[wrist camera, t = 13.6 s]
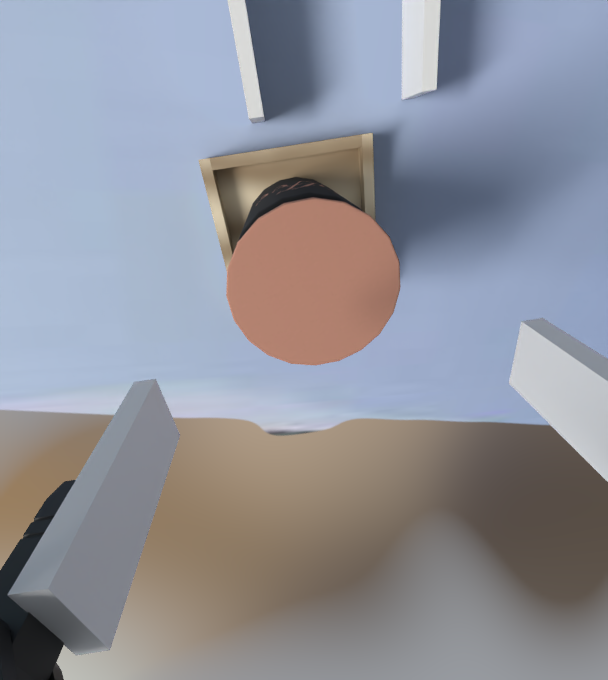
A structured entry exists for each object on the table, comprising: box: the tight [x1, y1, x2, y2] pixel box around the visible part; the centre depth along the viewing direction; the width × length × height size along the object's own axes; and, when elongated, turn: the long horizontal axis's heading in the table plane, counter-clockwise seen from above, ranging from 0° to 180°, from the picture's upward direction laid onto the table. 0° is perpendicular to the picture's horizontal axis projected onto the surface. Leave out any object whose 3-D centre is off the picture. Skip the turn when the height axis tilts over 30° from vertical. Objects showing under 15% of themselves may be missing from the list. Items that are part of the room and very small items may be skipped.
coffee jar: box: [226, 177, 400, 365], centre depth 29 cm, size 11×11×18 cm
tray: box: [199, 133, 375, 270], centre depth 36 cm, size 16×16×2 cm
